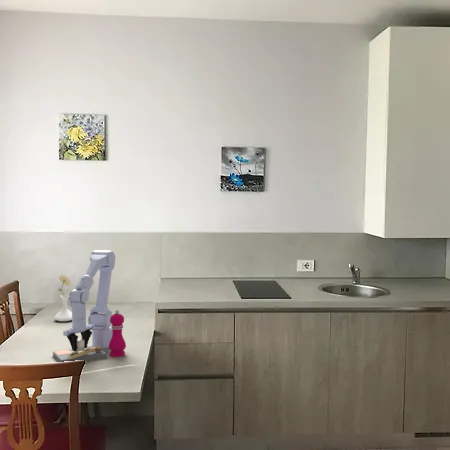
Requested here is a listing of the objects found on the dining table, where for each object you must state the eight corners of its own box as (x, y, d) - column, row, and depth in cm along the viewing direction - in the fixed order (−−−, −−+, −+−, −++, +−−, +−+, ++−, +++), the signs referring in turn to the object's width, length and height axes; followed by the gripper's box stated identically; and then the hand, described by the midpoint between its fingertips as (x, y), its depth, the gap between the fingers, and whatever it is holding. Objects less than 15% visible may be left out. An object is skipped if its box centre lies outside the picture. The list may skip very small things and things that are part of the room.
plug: (84, 354, 246) (84, 337, 245) (89, 358, 240) (89, 341, 240) (70, 356, 243) (70, 339, 242) (74, 360, 237) (74, 342, 237)
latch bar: (97, 348, 244) (97, 345, 244) (101, 349, 243) (101, 345, 242) (67, 358, 229) (67, 355, 229) (71, 359, 228) (71, 355, 228)
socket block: (96, 351, 252) (96, 343, 252) (106, 359, 240) (106, 351, 240) (52, 357, 243) (52, 349, 242) (61, 366, 231) (61, 358, 230)
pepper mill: (110, 359, 240) (110, 312, 239) (107, 354, 247) (106, 309, 245) (127, 357, 243) (127, 311, 242) (123, 352, 250) (123, 307, 248)
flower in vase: (78, 321, 310) (78, 275, 308) (58, 323, 303) (57, 277, 302) (70, 316, 320) (70, 272, 319) (50, 319, 314) (49, 274, 312)
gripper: (87, 313, 248) (87, 344, 249) (58, 319, 237) (59, 351, 238) (97, 315, 244) (97, 346, 245) (68, 321, 233) (69, 354, 234)
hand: (79, 349), depth 241 cm, fingers open, 5 cm apart
